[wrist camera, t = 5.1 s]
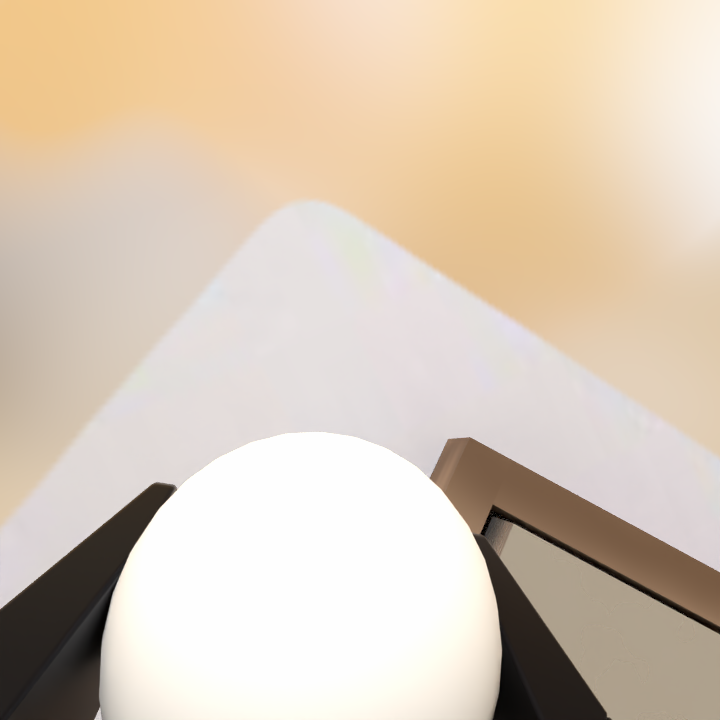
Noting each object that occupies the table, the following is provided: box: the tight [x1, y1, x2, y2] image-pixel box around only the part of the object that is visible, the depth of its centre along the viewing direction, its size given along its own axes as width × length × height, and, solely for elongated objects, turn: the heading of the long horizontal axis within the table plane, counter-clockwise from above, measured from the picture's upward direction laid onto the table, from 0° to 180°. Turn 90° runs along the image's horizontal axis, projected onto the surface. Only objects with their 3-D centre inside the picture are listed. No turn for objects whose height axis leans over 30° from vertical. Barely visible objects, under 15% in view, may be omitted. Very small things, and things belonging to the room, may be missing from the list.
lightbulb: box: [99, 432, 502, 720], centre depth 10 cm, size 6×6×11 cm
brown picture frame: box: [430, 437, 720, 634], centre depth 19 cm, size 16×16×3 cm
